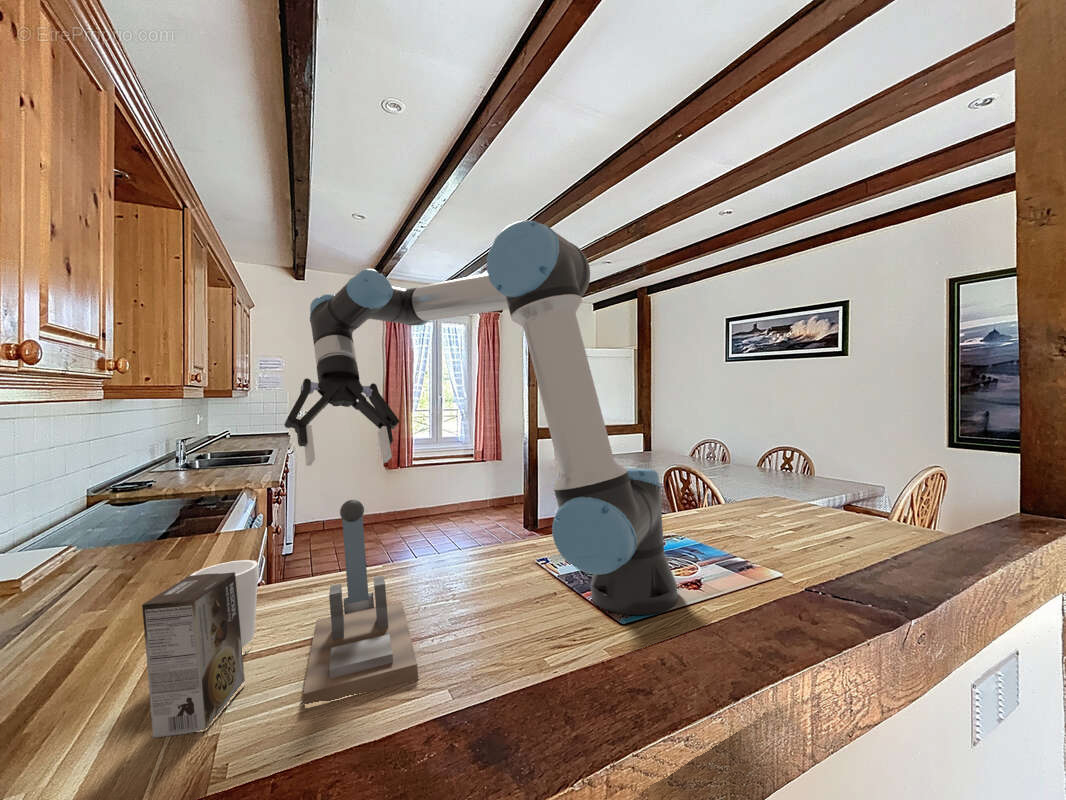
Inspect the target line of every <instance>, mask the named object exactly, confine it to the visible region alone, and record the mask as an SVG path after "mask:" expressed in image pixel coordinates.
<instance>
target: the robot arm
mask: <svg viewBox="0 0 1066 800" xmlns="http://www.w3.org/2000/svg"><path fill="white" fill-rule="evenodd" d="M590 281H591V267H590V264H589V260H588V259H587V256H586V255H585V253H584V252H583V251H582V250H581V249H580V248H579V247H578V246H577V245H575V244H574V243H572V242H570V241H569V240H567V239H566V238H564V237H563V236H561V235H560V234H558V233H557V232H555V231H554V230H553V228H551V227H549V226H548V225H547V224H543V223H540V222H538V221H535V220H527V219H525V220H520V221H516V222H513V223H512V224H509V225H507V226H506V227H505V228H504V229H503V230H501V231H500V232H499V234H497V235H496V237H495V238H494V241H493V242H492V245H491V247H490V248H489V250H488V254H487V258H486V273H484V274H483V273H482V274H477V275H473V276H466V277H462V278H456V279H452V280H445V281H440V282H435V283H432V284H426V285H420V286H414V287H410V288H401V287H398V286H397V287H395V286H392V284H391V283H390V281H389V280H388V278H387V277H386V276H385V275H384V274H383V273H380V272H379V271H377V270H376V269H373V268H365V269H361V271H360V272H358V273H357V274H356V275H355V276H352V277H351V278H350V279H349V280H348V281H347V283H346V284H345V285H343V287H342V288H341V289H340V290H338V292H337V293H335V294H323V295H321V296H317V297H315V298H314V299H313V300H312V302H311V303H310V305H309V306H310V307H309V312H310V316H309V323H310V327H311V332H312V341H313V347H314V348H313V349H314V358H315V364H316V374H317V382H313V381H312V380H311V379H310V378H304V379H303V381H302V383H301V386H300V394H299V396H298V398H297V400H296V402H295V403H294V405H293V407H292V408H291V411H290V412H289V414H288V416H287V418H286V420H285V422H284V427H285V428H286V429H290V428H291V429H294V432H295V433H296V435H297V444H298V446H299V447H304V454H305V455H304V456H305V465H306V466H312V465H313V463H314V461H315V459H316V454H315V446H314V437H313V426H312V424H311V422H312V421H313V420H314V419H315V418H316V416H318V415H319V414H320V412H321V411H322V410H323V409H325V407H327V405H328V404H330V406H331V405H332V407H345V408H350V407H352V408H354V409H355V410H357V411H359V412H360V413H361V414H362V415H363V416H364V417H366V418H367V420H369V421H370V422H371V423H372V424H374V425H375V426H376V427H377V428H378V429H379V430H378V432H377V437H378V442H379V448H380V453H381V459H382V463H383V464H386V463H388V462H389V461H390V459H391V458H392V457H393V454H392V450H391V449H392V448H391V444H392V443H393V441H394V437H393V432H392V430H394V429H396V427H397V426H398V424H399V423H400V419H399V418H398V416H397V414H395V412H394V411H393V410H392V409H391V407H390V406H389V404H388V403H387V402H386V400H385V399H384V398H383V397H382V396H383V395H381V394H380V391H379V389H378V386H377V384H376V383H374V382H373V383H371V384H370V385H362V383H361V381H360V372H359V368H358V367H359V366H358V362H357V355H356V350H355V344H354V339H353V333H354V332H355V331H356V330H357V329H358V328H360V327H361V326H362V325H363V324H364V323H365V322H367V321H368V320H375V321H383V322H390V323H396V324H403V325H407V326H413V327H415V326H423V325H425V324H427V323H428V322H430V321H435V320H442V319H449V318H456V317H463V316H470V315H477V314H484V313H491V312H498V311H505V310H509V314H510V318H511V321H513V322H514V323H515V324H517V325H519V326H520V327H522V328H523V330H524V335H525V338H526V342H527V343H526V344H527V347H528V351H529V354H530V355H529V356H530V358H531V359H530V360H531V363H532V367H533V371H534V374H535V378H536V379H535V380H536V382H537V387H538V391H539V395H540V399H541V402H542V403H541V404H542V407H543V410H544V415H545V418H546V421H547V426H548V430H549V434H550V439H551V443H552V446H553V451H554V454H555V458H556V462H557V466H558V470H559V476H558V479H556V482H555V484H554V485H553V491H554V494H555V498H556V502H557V507H558V509H557V511H556V513H555V516H554V518H553V521H552V526H551V527H552V528H551V531H552V538H553V542H554V544H555V546H556V548H557V551H558V553H559V554H560V555H561V557H562V558H563V559H564V560H565V562H567V563H568V564H569V565H572V566H573V567H574V568H576V570H579V571H580V572H583V573H586V574H590V575H592V578H591V582H590V595H591V599H592V601H593V602H594V604H595V605H597V606H598V607H600V608H601V609H603V610H606V611H608V612H610V613H611V612H612V613H615V614H621V615H628V616H630V615H632V616H643V615H653V614H658V613H662V612H664V611H667V610H669V609H670V608H672V607H673V606H674V605H675V604H676V603H677V601H678V585H677V581H676V579H675V577H674V575H673V572H672V570H671V566H670V565H669V562H668V559H667V556H666V554H665V545H664V543H665V541H664V530H663V529H664V527H663V512H662V498H661V489H662V486H661V484H660V476H659V474H658V472H657V471H656V470H655V469H653V468H641V467H639V468H637V467H634V468H633V467H624V466H623V465H621V464H620V463H618V462H616V460H615V459H614V455H613V450H612V446H611V443H610V439H609V435H608V432H607V428H606V424H605V421H604V417H603V412H602V409H601V405H600V401H599V397H598V393H597V389H596V387H595V385H596V384H595V382H594V378H593V375H592V371H591V367H590V364H589V363H590V362H589V359H588V355H587V352H586V349H585V345H584V340H583V336H582V333H581V329H580V325H579V322H578V321H579V320H578V317H577V311H578V310H579V308H580V306H581V304H582V302H583V299H582V298H583V296H584V295H585V293H586V292H587V289H588V287H589V284H590ZM314 391H316V392H317V393H318V394H319V395H320V396H321V398H320V399H319V400H318V401H316V403H315V404H314V405H313V406H312V407H311V408H310V409H309V410H308V411H306V413H305V414H304V415H303V416H302V417H301V418H300V419H299V418H297V417H298V415H299V414H300V411H301V410H302V408H303V406H304V404H305V402H306V400H307V398H308V396H309V395H311V394H313V393H314ZM363 394H364V395H363ZM367 398H368V399H369V401H370V402H369V401H368V399H367ZM357 400H358V401H357Z"/></svg>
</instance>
